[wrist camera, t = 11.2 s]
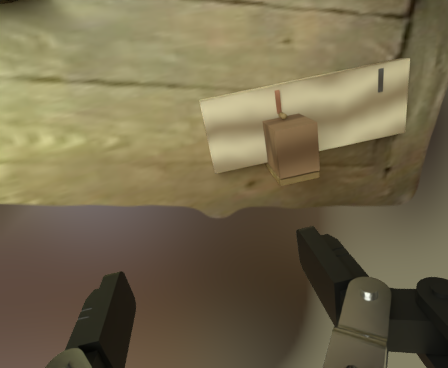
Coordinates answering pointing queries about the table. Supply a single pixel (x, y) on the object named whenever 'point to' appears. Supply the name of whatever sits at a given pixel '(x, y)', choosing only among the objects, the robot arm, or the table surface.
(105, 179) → the table surface
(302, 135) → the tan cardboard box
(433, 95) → the table surface
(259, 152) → the board
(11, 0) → the hand tool
